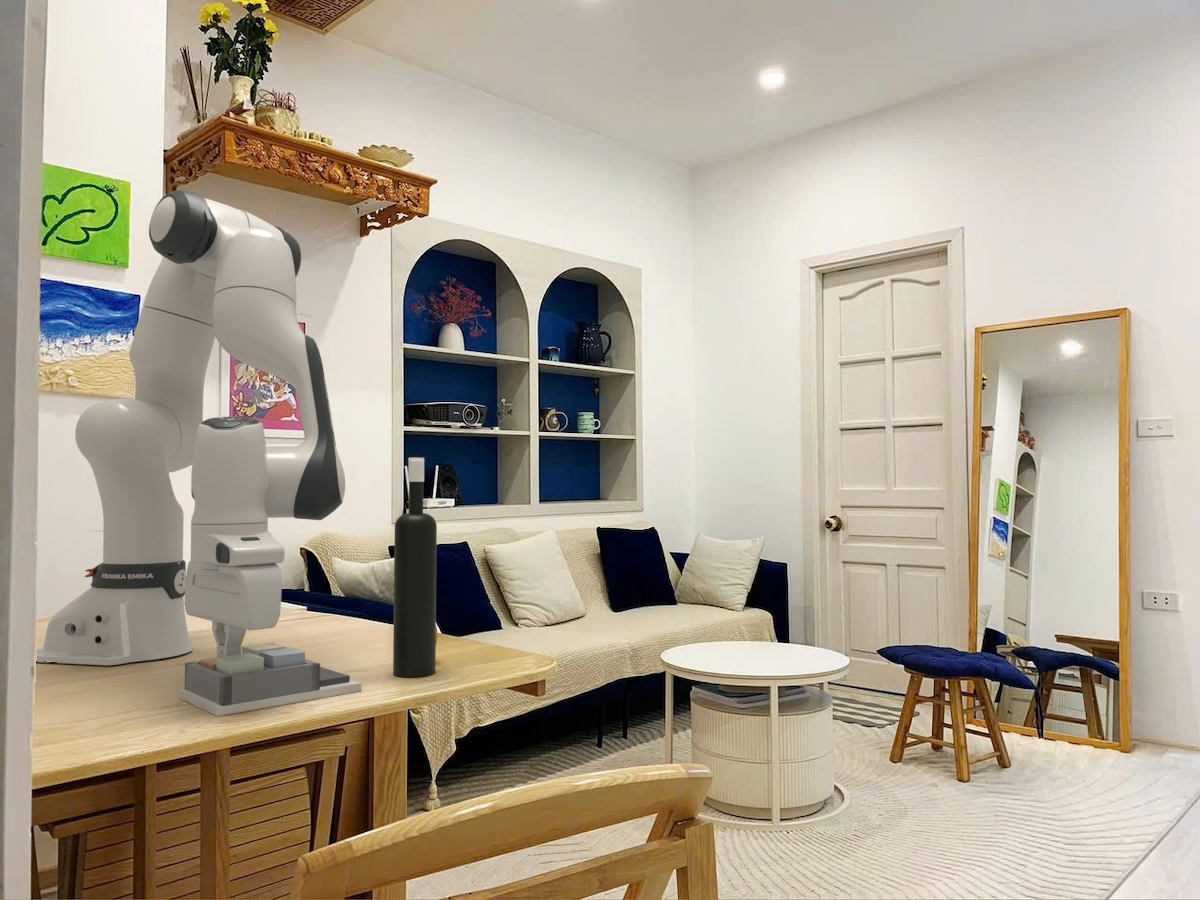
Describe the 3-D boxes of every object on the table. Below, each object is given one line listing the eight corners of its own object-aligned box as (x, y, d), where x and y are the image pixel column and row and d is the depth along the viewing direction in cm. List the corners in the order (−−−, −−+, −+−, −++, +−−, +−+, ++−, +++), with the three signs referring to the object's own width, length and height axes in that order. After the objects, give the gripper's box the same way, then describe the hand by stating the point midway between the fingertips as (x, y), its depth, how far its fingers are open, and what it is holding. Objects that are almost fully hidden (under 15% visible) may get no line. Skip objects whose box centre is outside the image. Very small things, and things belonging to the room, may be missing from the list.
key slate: (273, 674, 108) (273, 656, 108) (259, 669, 111) (259, 651, 111) (304, 670, 110) (305, 652, 111) (290, 665, 113) (290, 647, 113)
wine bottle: (433, 668, 129) (435, 458, 130) (437, 676, 123) (439, 457, 124) (392, 670, 127) (394, 458, 128) (394, 678, 121) (396, 456, 123)
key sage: (229, 681, 104) (230, 662, 104) (216, 676, 107) (216, 657, 107) (263, 676, 107) (263, 657, 107) (249, 671, 110) (249, 653, 110)
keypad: (217, 716, 102) (218, 678, 102) (179, 698, 110) (179, 663, 110) (361, 690, 114) (361, 657, 114) (316, 676, 123) (316, 645, 123)
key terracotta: (212, 683, 108) (212, 664, 108) (199, 677, 111) (200, 659, 111) (245, 678, 111) (245, 660, 111) (232, 673, 113) (232, 655, 113)
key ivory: (254, 668, 111) (255, 650, 112) (241, 663, 114) (241, 646, 114) (285, 664, 114) (286, 646, 114) (272, 659, 117) (272, 642, 117)
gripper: (171, 544, 117) (170, 651, 116) (239, 551, 102) (237, 674, 102) (220, 541, 121) (219, 645, 120) (291, 548, 107) (290, 666, 106)
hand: (228, 659), depth 111 cm, fingers closed
